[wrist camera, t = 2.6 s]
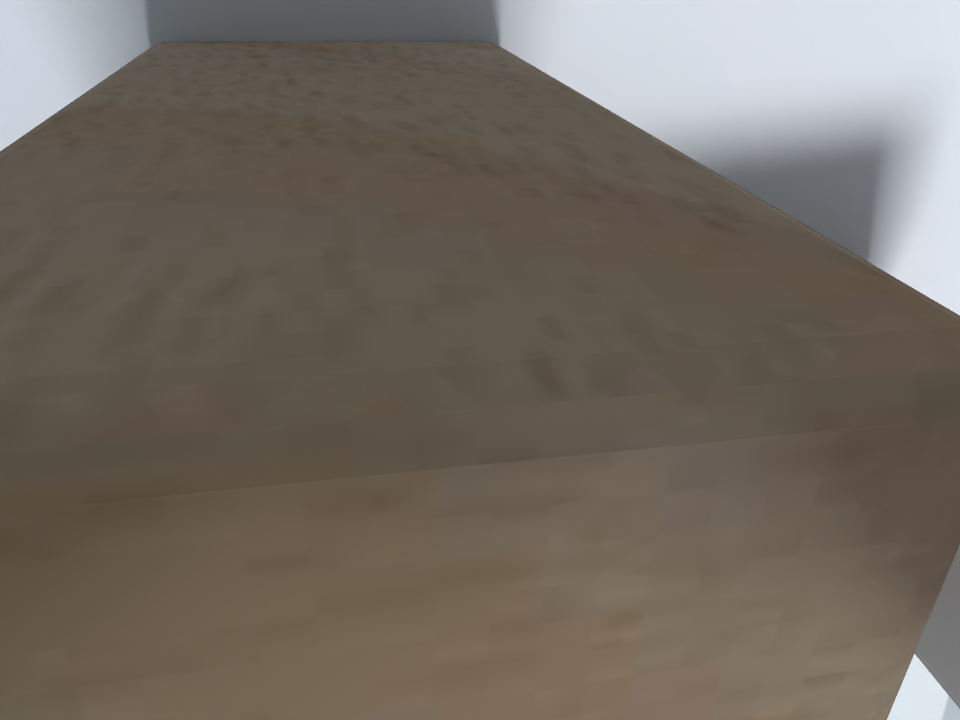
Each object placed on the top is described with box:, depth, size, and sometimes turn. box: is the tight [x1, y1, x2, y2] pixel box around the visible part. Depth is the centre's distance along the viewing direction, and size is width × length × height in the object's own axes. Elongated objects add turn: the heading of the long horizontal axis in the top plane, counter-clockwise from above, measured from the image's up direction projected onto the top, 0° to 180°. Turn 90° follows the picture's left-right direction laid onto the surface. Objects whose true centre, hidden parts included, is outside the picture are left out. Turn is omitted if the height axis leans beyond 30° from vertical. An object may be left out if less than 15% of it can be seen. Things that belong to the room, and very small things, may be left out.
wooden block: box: [0, 42, 960, 720], centre depth 16 cm, size 10×10×20 cm
